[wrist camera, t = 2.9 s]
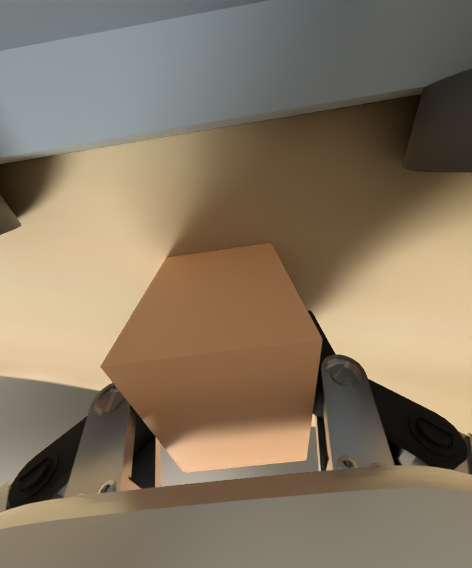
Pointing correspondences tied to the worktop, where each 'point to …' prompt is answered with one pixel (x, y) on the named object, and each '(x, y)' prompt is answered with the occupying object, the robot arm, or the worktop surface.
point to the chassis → (227, 70)
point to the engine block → (221, 360)
